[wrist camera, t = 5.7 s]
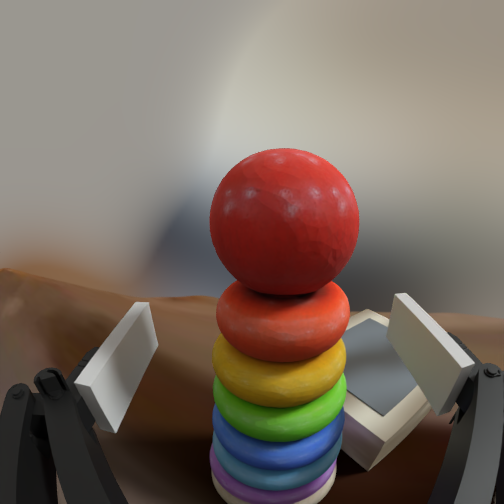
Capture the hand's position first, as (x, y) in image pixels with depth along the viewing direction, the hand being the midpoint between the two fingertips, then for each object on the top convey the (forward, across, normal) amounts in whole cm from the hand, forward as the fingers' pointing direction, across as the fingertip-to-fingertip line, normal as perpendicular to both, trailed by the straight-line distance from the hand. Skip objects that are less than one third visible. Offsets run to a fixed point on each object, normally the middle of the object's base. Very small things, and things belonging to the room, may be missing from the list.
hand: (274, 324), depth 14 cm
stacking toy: (-3, 0, -11) cm, 11 cm away
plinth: (+4, +8, -10) cm, 14 cm away
